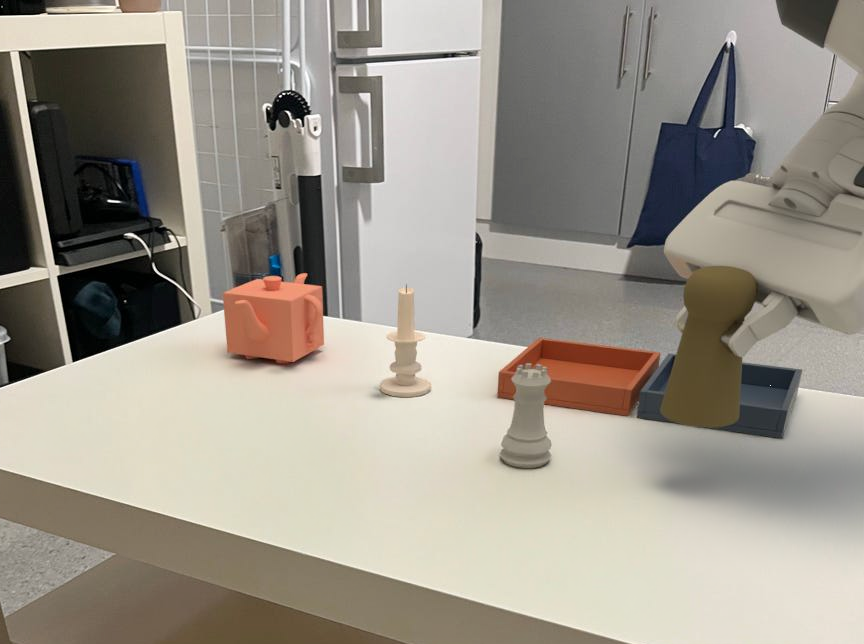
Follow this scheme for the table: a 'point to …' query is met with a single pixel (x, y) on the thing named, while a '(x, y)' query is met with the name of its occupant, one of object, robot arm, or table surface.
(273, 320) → the teapot
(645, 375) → the terracotta tray
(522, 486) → the table surface
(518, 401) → the rook chess piece
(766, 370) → the slate tray
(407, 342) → the candle
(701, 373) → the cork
